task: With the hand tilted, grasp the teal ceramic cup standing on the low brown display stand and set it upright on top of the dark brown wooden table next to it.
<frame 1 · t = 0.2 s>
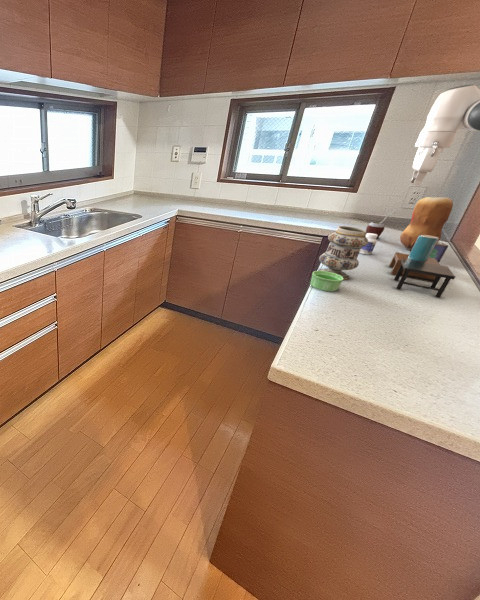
hand: (414, 184, 117), 33 cm above the worktop, tool pointing down, fingers open, 8 cm apart
mate gourd: (372, 238, 175), on the worktop
cup: (417, 259, 125), point 6 cm above the worktop, touching brown display stand
ramekin: (323, 287, 114), on the worktop
butternut squash: (413, 251, 155), on the worktop
pill bottle: (363, 253, 151), on the worktop
apothecary jar: (332, 275, 125), on the worktop
brown display stand: (409, 273, 127), on the worktop
dark brown wooden table: (415, 288, 115), on the worktop
flask: (422, 263, 139), on the worktop
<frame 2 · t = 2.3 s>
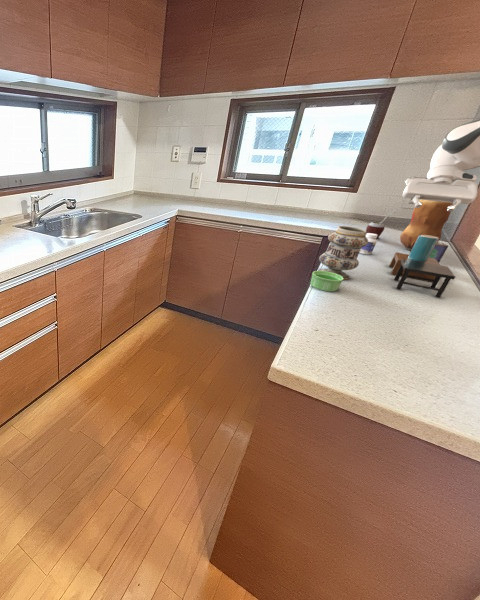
hand: (433, 208, 125), 24 cm above the worktop, tool tilted 45°, fingers open, 8 cm apart
nothing on the worktop moved.
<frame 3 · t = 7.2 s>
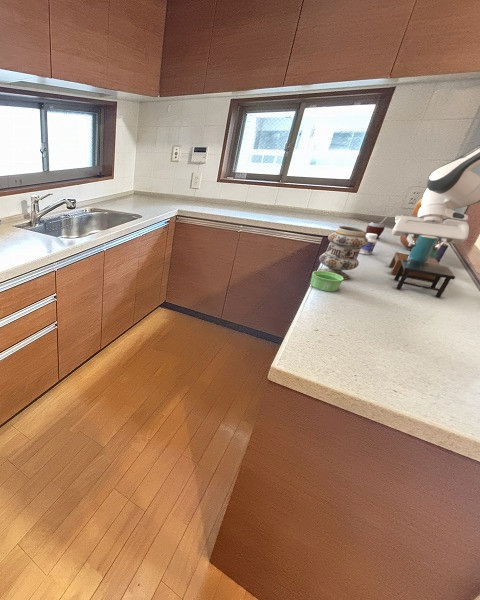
hand: (423, 247, 122), 11 cm above the worktop, tool tilted 45°, fingers closed on cup, 5 cm apart
cup: (417, 259, 125), point 6 cm above the worktop, touching gripper, brown display stand
everything else where it was.
when the fingers open (13 cm above the worktop, at t = 15.9 s): cup stays where it is, resting on dark brown wooden table.
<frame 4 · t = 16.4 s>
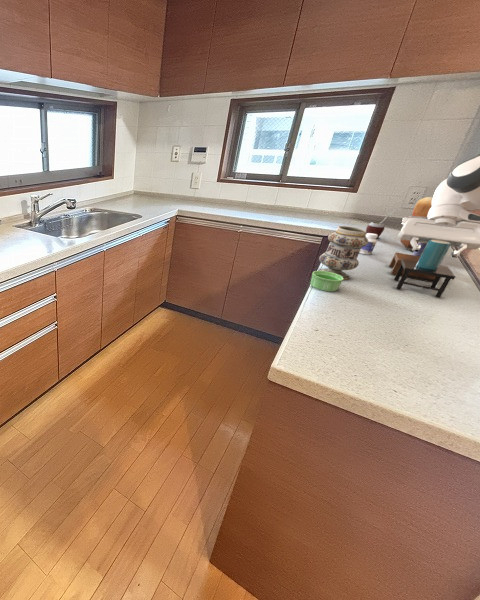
hand: (434, 253, 108), 13 cm above the worktop, tool tilted 45°, fingers open, 8 cm apart
cup: (426, 267, 111), point 8 cm above the worktop, touching dark brown wooden table
everything else where it was.
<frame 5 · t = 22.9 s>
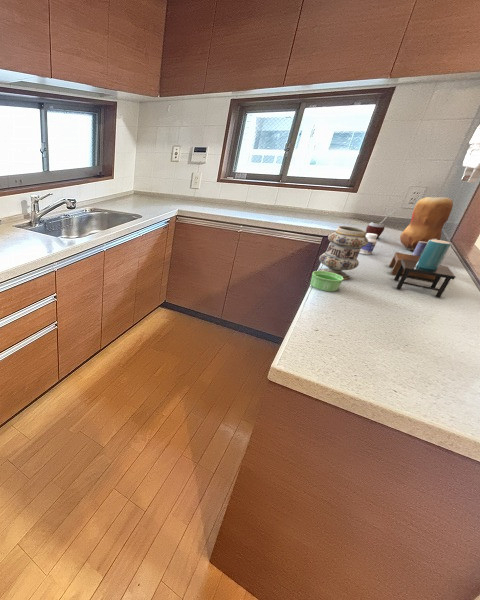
hand: (467, 181, 116), 34 cm above the worktop, tool pointing down, fingers open, 8 cm apart
nothing on the worktop moved.
at the end: cup inside the target area on the dark brown wooden table (0.1 cm from its centre), point 8.0 cm above the dark brown wooden table's base; cup tilted 0°; the gripper is holding nothing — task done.
